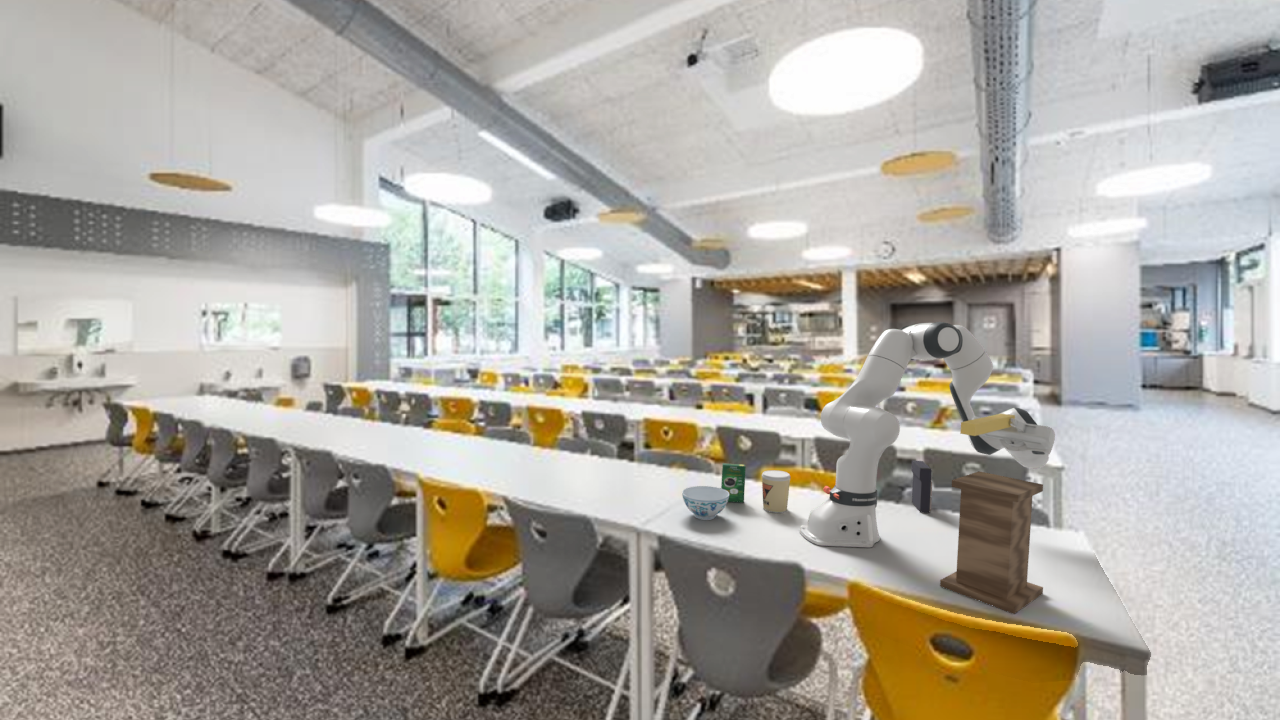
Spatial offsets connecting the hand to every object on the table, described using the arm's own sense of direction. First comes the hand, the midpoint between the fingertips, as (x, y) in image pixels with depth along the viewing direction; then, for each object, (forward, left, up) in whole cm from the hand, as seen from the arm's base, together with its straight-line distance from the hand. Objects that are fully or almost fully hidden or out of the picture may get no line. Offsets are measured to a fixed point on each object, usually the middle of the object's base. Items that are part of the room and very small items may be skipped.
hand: (1002, 419), depth 161 cm
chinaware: (-75, +32, -37) cm, 90 cm away
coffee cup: (-50, +37, -37) cm, 73 cm away
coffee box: (-62, +46, -37) cm, 86 cm away
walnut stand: (-19, -24, -36) cm, 48 cm away
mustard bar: (-7, -4, -2) cm, 8 cm away
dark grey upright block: (0, +34, -37) cm, 50 cm away
